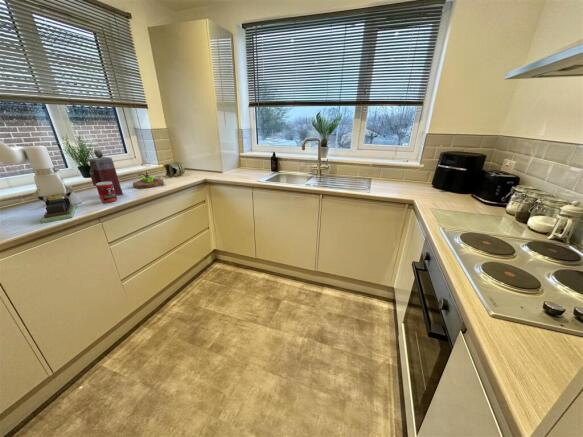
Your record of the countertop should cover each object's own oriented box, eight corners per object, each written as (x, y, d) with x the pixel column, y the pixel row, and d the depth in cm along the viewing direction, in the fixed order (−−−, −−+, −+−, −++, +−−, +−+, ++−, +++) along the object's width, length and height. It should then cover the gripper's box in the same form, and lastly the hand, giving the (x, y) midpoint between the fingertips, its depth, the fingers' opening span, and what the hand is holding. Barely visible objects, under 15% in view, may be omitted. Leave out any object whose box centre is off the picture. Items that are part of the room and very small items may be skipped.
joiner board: (41, 223, 110) (38, 218, 110) (50, 210, 127) (48, 205, 126) (72, 217, 116) (70, 212, 115) (77, 206, 133) (75, 201, 132)
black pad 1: (51, 211, 120) (48, 203, 118) (53, 208, 124) (50, 200, 122) (67, 208, 123) (63, 200, 121) (68, 206, 127) (65, 197, 126)
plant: (136, 190, 163) (132, 173, 159) (131, 185, 177) (127, 170, 173) (167, 184, 175) (164, 169, 171) (160, 180, 189) (157, 166, 185)
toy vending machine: (96, 197, 150) (80, 151, 139) (115, 192, 159) (102, 148, 148) (103, 198, 145) (87, 151, 135) (123, 194, 154) (109, 149, 144)
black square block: (49, 216, 115) (45, 208, 113) (51, 213, 120) (48, 204, 118) (65, 214, 118) (62, 205, 116) (67, 210, 123) (64, 202, 121)
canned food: (105, 204, 136) (99, 185, 131) (99, 201, 140) (92, 183, 135) (120, 200, 142) (114, 182, 137) (113, 198, 146) (108, 180, 141)
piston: (165, 177, 200) (161, 163, 196) (175, 174, 210) (172, 161, 206) (176, 178, 197) (173, 164, 192) (185, 175, 207) (183, 161, 203)
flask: (63, 204, 137) (56, 187, 133) (77, 200, 143) (71, 184, 139) (70, 205, 134) (63, 188, 130) (85, 201, 140) (79, 185, 136)
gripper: (69, 168, 124) (81, 201, 130) (22, 173, 115) (38, 208, 121) (67, 170, 118) (80, 205, 125) (17, 175, 109) (35, 212, 116)
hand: (59, 206), depth 123 cm, fingers closed on black pad 1, 6 cm apart
